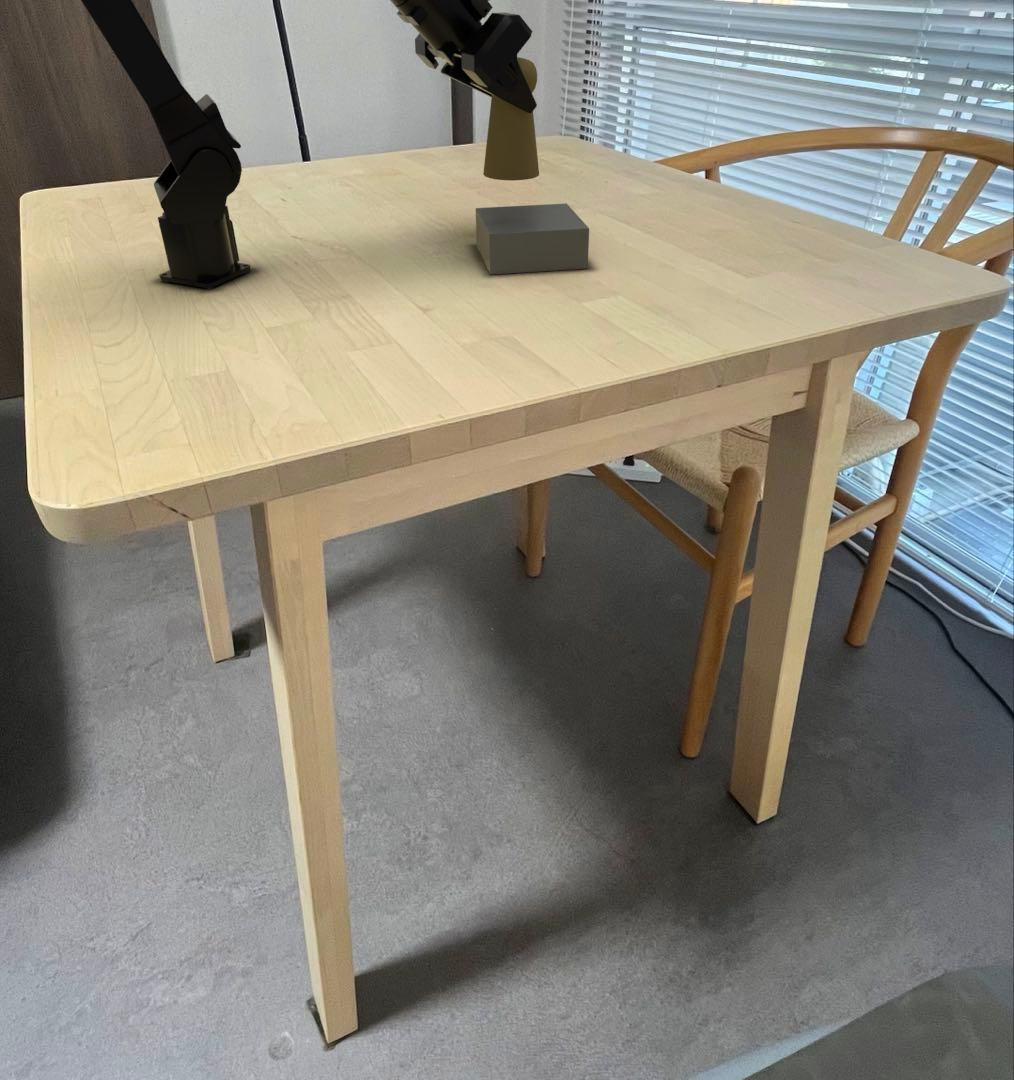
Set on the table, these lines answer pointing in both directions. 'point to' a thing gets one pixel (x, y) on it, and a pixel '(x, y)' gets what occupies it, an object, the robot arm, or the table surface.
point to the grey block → (531, 238)
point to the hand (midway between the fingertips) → (523, 105)
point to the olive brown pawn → (512, 136)
